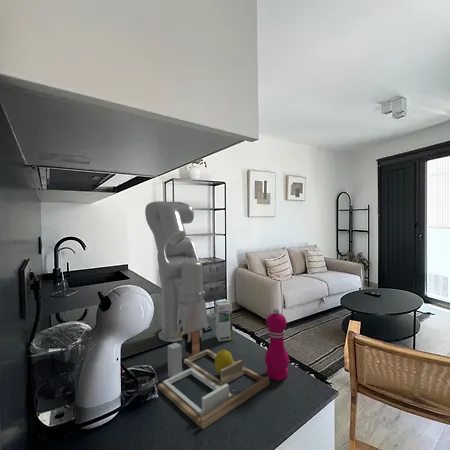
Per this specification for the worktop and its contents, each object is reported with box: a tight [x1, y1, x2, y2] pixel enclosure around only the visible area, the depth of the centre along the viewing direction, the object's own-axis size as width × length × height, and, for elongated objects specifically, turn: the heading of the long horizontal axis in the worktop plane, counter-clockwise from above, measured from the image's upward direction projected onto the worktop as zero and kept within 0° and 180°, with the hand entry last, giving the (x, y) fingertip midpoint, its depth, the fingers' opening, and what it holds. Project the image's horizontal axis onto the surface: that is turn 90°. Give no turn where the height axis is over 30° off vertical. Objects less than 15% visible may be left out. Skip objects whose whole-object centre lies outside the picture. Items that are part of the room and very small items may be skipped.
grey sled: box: [162, 342, 232, 418], centre depth 73 cm, size 21×10×9 cm, turn 42°
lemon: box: [214, 349, 234, 375], centre depth 80 cm, size 6×6×8 cm
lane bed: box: [157, 360, 270, 430], centre depth 75 cm, size 20×24×2 cm
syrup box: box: [214, 299, 234, 343], centre depth 106 cm, size 6×6×14 cm
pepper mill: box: [264, 308, 290, 381], centre depth 80 cm, size 7×7×20 cm
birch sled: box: [183, 330, 246, 386], centre depth 85 cm, size 21×10×9 cm, turn 42°
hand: (193, 349), depth 92 cm, fingers closed on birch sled, 3 cm apart
